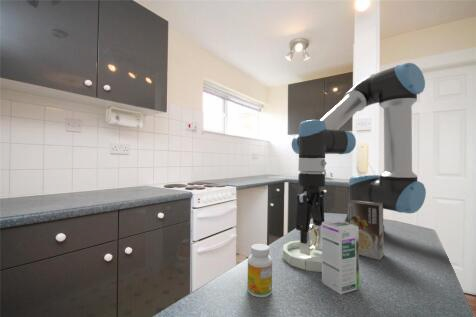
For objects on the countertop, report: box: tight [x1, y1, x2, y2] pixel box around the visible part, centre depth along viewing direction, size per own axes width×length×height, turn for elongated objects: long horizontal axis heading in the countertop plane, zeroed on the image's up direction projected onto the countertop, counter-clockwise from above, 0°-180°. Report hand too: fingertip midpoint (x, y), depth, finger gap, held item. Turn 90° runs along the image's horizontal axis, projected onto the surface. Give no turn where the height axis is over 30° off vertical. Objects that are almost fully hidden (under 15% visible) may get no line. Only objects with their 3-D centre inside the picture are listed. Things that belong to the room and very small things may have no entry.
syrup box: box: [321, 219, 360, 296], centre depth 53 cm, size 6×6×14 cm
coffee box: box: [347, 200, 385, 261], centre depth 72 cm, size 9×6×16 cm
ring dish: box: [282, 239, 322, 273], centre depth 67 cm, size 16×16×2 cm
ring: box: [309, 224, 320, 251], centre depth 67 cm, size 7×3×8 cm, turn 119°
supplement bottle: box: [247, 243, 273, 298], centre depth 50 cm, size 5×5×10 cm
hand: (310, 249), depth 67 cm, fingers closed on ring, 7 cm apart
